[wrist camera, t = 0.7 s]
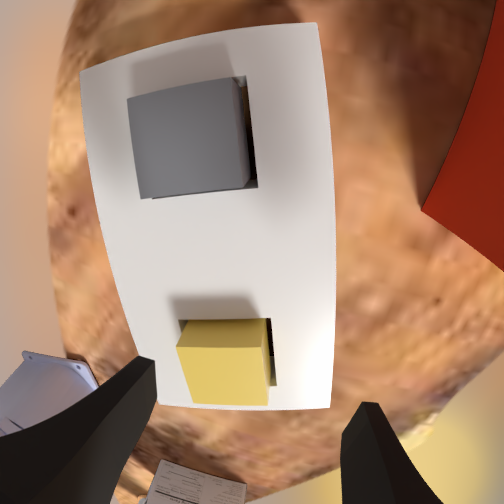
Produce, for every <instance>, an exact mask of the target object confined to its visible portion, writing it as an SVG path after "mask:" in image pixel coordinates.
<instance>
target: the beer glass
mask: <svg viewBox="0 0 504 504" xmlns="http://www.w3.org/2000/svg"><path fill="white" fill-rule="evenodd" d="M146 497H147V495H139V496H138V499H137V504H144V503H145V500H146Z"/></svg>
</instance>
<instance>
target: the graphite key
mask: <svg viewBox="0 0 504 504" xmlns="http://www.w3.org/2000/svg"><path fill="white" fill-rule="evenodd" d="M127 107H128V116H129V125H130V133H131V141H132V148H133V155H134V162H135V169H136V175H137V181H138V187H139V193H140V199H148V198H155V197H162V196H170V195H178V194H187V193H195V192H204V191H213V190H223V189H233V188H243V187H244V186H245V184H246V183H247V182H248V180H249V179H250V178H251V172H250V163H249V153H248V144H247V135H246V126H245V117H244V108H243V99H242V90H241V87H240V86H239V85H238V84H237V83H236V82H235V81H234V80H233V79H232V78H231V77H227V78H221V79H214V80H208V81H202V82H197V83H192V84H186V85H182V86H177V87H172V88H168V89H163V90H159V91H155V92H151V93H147V94H143V95H139V96H135V97H131V98H128V99H127Z"/></svg>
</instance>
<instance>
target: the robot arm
mask: <svg viewBox="0 0 504 504" xmlns="http://www.w3.org/2000/svg"><path fill="white" fill-rule="evenodd" d="M22 356H23V358H24V360H25V361H24V362H23V363H22V364H21V365H20V366H19V367H18V368H17V369H16V370H15V371H14V373H13V374H12V375H11V376H10V377H9V378H8V379H7V380H6V382H5V383H4V384H3V385H2V386H1V387H0V504H110V501H111V498H112V495H113V493H114V490H115V487H116V485H117V482H118V479H119V477H120V474H121V472H122V470H123V468H124V466H125V464H126V462H127V460H128V458H129V456H130V454H131V453H132V451H133V449H134V447H135V445H136V443H137V441H138V439H139V438H140V436H141V434H142V432H143V430H144V428H145V426H146V424H147V422H148V421H149V418H150V415H151V413H152V410H153V408H154V405H155V402H156V400H157V385H156V370H155V360H152V359H149V358H145V357H142V356H137V357H136V358H134V359H133V360H132V361H131V362H130V363H128V364H127V365H126V366H125V367H124V368H122V369H121V370H120V371H119V372H118V373H116V374H115V375H114V376H113V377H111V378H110V379H109V380H107V381H106V382H105V383H103V384H102V385H101V386H98V384H97V383H96V381H95V379H94V377H93V375H92V373H91V371H90V368H89V366H88V365H87V364H86V363H85V362H83V361H77V360H71V359H65V358H59V357H53V356H48V355H43V354H38V353H33V352H28V351H23V352H22ZM340 464H341V484H342V504H443V503H442V502H441V500H440V499H439V498H438V497H437V496H436V495H435V494H434V492H433V491H432V490H431V488H430V487H429V486H428V485H427V483H426V482H425V481H424V479H423V478H422V477H421V475H420V474H419V472H418V471H417V470H416V468H415V466H414V465H413V463H412V462H411V460H410V459H409V457H408V455H407V454H406V452H405V450H404V448H403V447H402V445H401V443H400V442H399V440H398V438H397V436H396V435H395V433H394V431H393V429H392V427H391V425H390V424H389V422H388V420H387V418H386V416H385V414H384V413H383V411H382V409H381V407H380V406H379V404H378V403H374V402H362V403H361V404H360V406H359V408H358V409H357V411H356V413H355V414H354V416H353V417H352V419H351V420H350V422H349V424H348V425H347V427H346V428H345V430H344V431H343V433H342V439H341V454H340Z"/></svg>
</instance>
